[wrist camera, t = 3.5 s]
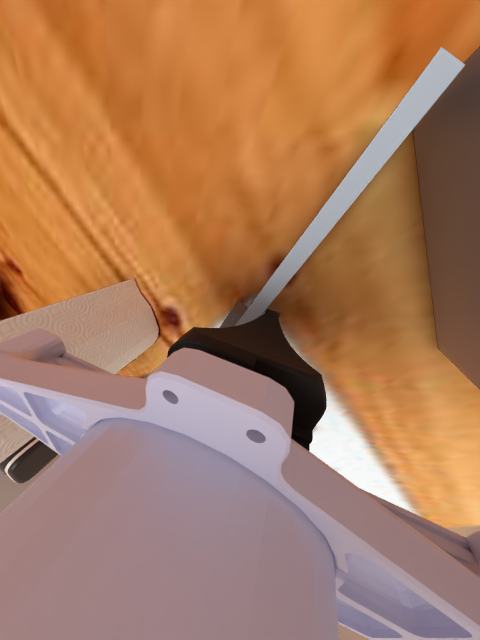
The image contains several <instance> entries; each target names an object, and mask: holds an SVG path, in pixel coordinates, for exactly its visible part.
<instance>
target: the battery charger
mask: <svg viewBox="0 0 480 640" xmlns="http://www.w3.org/2000/svg"><path fill="white" fill-rule="evenodd" d="M57 455H58V453H56V452H55V451H54V450H52V449H51V448H50V447H48V446H47V445H45V444H44V443H43V442H41V441H40V440H39V439H37V438H36V437H33V438H32V439H31V440H29V441H28V442H27V443H26V444H24V445H23V446H22V447H20V448H19V449H18V450H17V451H15V452H14V453H13V454H11V455H10V456H9V457H7V458H6V459H5V460H4V461H2V462H1V463H0V469H1V470H2V471H3V472H4V473H5V474H6V475H7V476H9V477H10V479H11V480H13V481H14V482H16V483H24V482H26V481H28V480H29V479H31V478H32V477H33V476H35V475H36V474H37V473H38V472H39V471H40V470H41V469H42V468H44V467H45V466H46V465H47V464H48V463H49V462H50V461H51V460H52V459H53V458H55V457H56V456H57Z"/></svg>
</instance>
